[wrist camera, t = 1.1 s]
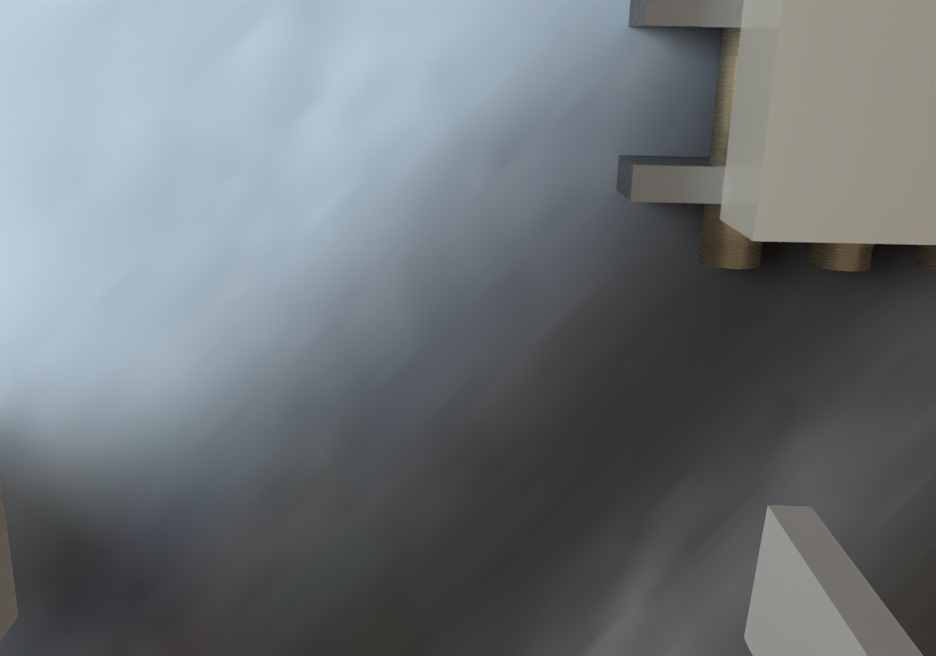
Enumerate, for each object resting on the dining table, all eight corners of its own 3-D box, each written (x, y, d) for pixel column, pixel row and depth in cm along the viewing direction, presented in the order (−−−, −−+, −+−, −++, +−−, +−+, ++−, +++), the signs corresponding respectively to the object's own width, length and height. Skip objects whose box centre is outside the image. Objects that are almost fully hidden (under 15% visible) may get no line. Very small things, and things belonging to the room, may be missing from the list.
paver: (747, -32, 32) (787, -43, 28) (1080, -23, 32) (1165, -32, 28) (719, 219, 34) (752, 241, 31) (1026, 225, 35) (1097, 248, 31)
